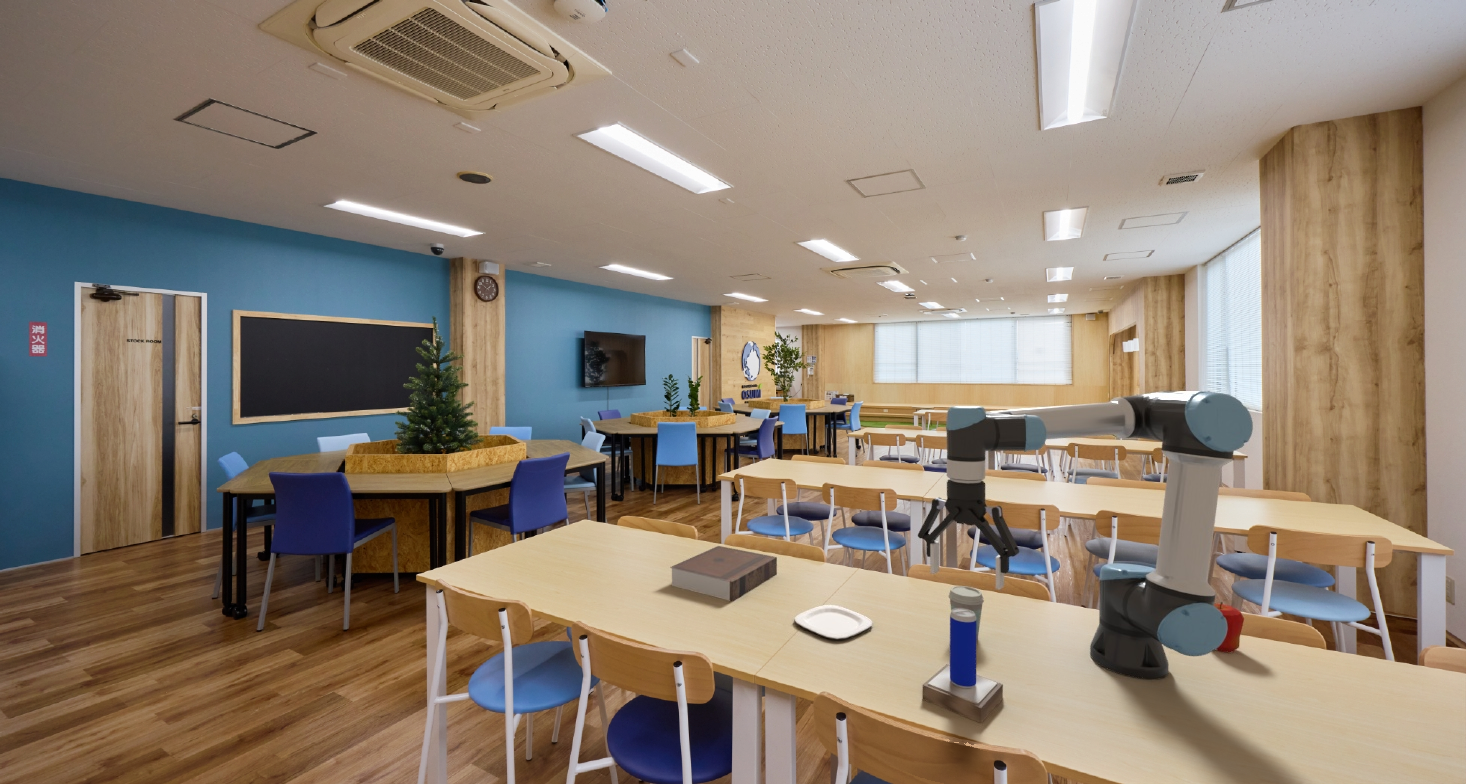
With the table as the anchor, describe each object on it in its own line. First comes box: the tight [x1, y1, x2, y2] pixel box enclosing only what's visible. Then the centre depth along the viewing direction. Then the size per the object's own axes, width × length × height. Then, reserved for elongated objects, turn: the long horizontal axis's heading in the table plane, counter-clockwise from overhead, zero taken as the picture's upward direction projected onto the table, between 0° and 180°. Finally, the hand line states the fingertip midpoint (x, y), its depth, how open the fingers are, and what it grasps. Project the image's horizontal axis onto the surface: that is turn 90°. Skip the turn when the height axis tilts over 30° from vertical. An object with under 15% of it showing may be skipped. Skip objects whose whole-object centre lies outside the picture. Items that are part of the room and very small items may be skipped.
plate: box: [793, 604, 874, 641], centre depth 154 cm, size 18×18×2 cm
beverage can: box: [949, 608, 977, 689], centre depth 118 cm, size 5×5×15 cm
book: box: [670, 545, 778, 603], centre depth 188 cm, size 24×28×6 cm
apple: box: [1214, 601, 1245, 653], centre depth 140 cm, size 9×8×12 cm
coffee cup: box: [948, 585, 985, 641], centre depth 146 cm, size 8×9×12 cm
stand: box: [921, 664, 1004, 724], centre depth 118 cm, size 12×12×3 cm
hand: (966, 579), depth 119 cm, fingers open, 13 cm apart
